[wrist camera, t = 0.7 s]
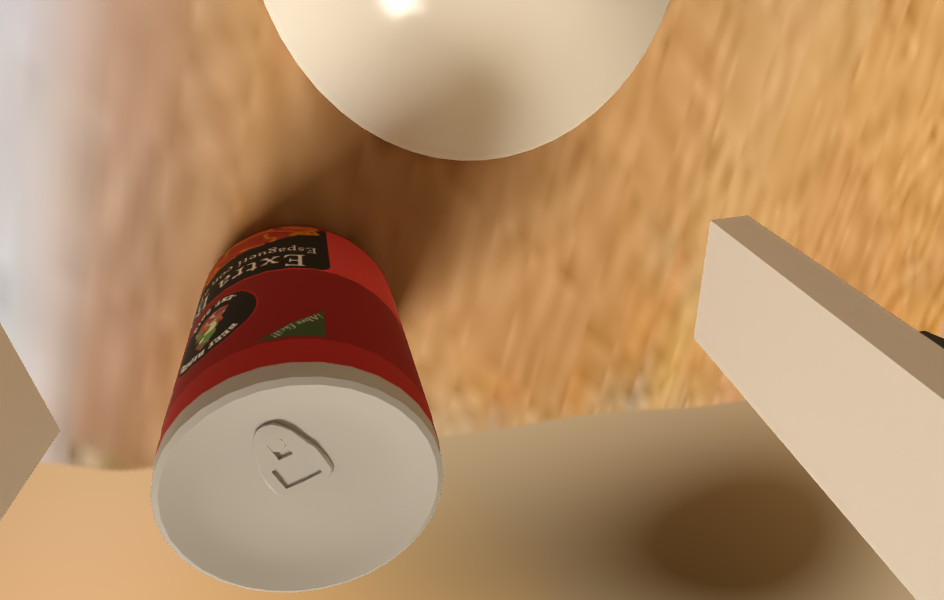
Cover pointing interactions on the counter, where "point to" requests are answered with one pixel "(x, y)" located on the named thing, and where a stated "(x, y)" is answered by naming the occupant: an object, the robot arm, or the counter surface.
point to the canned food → (295, 421)
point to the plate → (467, 66)
